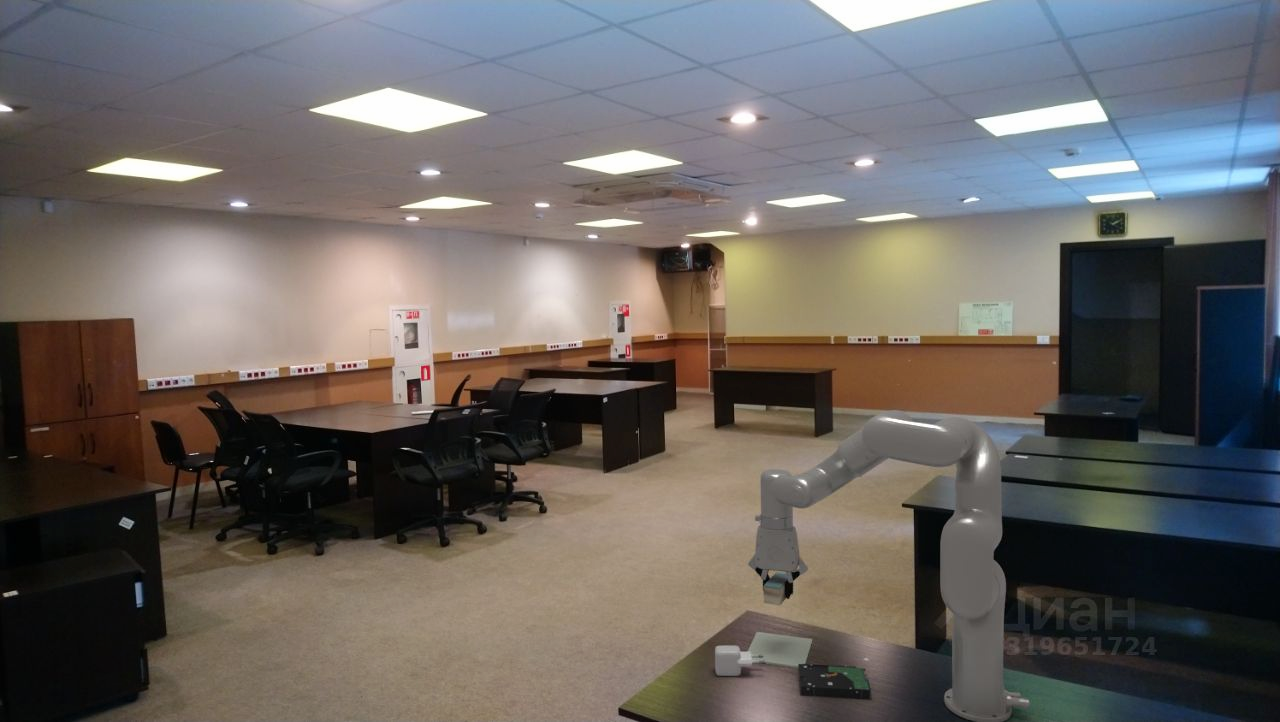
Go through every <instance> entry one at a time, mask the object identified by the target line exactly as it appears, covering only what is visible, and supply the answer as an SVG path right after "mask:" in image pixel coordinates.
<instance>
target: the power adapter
mask: <svg viewBox="0 0 1280 722" xmlns="http://www.w3.org/2000/svg"><path fill="white" fill-rule="evenodd" d="M752 658H763V655H753V654H751V652H747V651H741V648H740V647H739V646H738V645H716V646H715V647H714V667H715V668H714V669H715V674H716V676H719V677H727V676H728V677H739V676H741V674H742V667H753V664H761V663H764V662H765V661H764V660H752Z"/></svg>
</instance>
